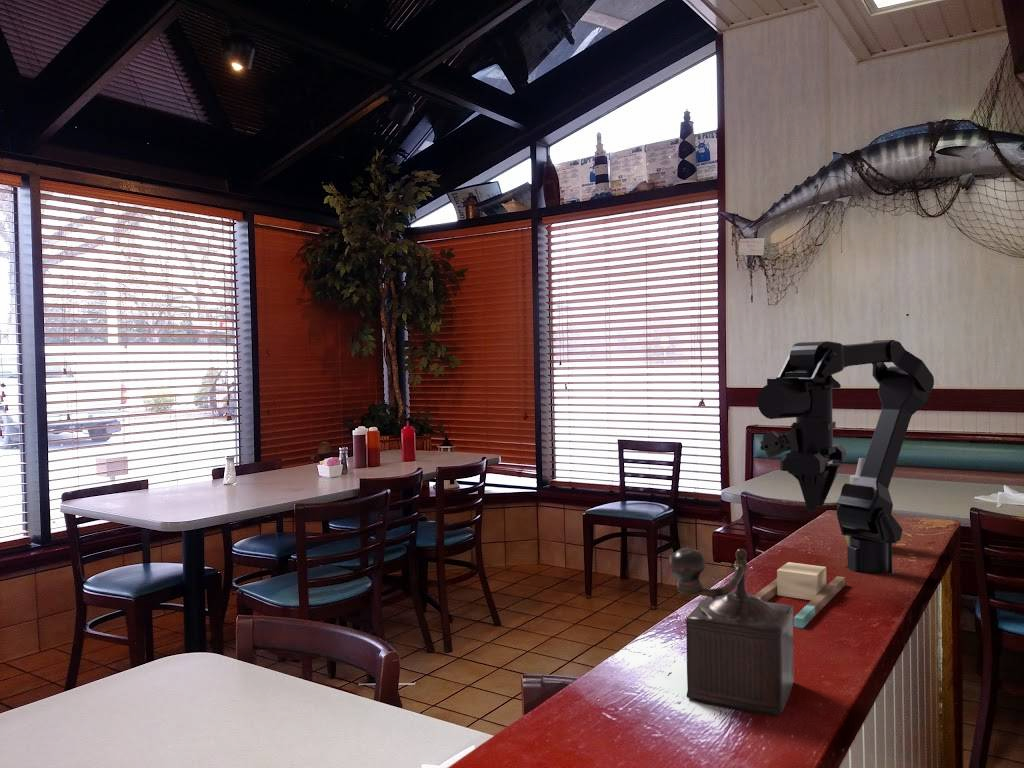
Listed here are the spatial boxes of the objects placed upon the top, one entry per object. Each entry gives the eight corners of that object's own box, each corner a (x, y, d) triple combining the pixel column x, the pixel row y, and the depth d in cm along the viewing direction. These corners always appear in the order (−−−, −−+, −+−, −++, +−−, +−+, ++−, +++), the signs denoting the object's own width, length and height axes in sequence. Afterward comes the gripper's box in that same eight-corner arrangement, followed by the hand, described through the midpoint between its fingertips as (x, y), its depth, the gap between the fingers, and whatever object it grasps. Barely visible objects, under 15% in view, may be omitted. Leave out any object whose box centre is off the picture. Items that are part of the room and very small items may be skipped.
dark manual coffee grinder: (702, 666, 97) (700, 523, 96) (796, 682, 91) (794, 531, 91) (665, 717, 83) (662, 550, 83) (772, 739, 78) (769, 561, 77)
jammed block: (788, 586, 128) (788, 562, 128) (826, 591, 124) (826, 566, 124) (777, 595, 123) (776, 570, 123) (816, 601, 120) (816, 575, 120)
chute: (786, 580, 134) (785, 569, 134) (847, 589, 128) (847, 577, 128) (735, 620, 113) (735, 607, 113) (805, 633, 108) (805, 619, 107)
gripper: (782, 412, 142) (783, 496, 143) (748, 418, 127) (749, 513, 128) (846, 413, 136) (847, 501, 136) (818, 420, 121) (819, 519, 121)
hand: (815, 508), depth 130 cm, fingers open, 5 cm apart
